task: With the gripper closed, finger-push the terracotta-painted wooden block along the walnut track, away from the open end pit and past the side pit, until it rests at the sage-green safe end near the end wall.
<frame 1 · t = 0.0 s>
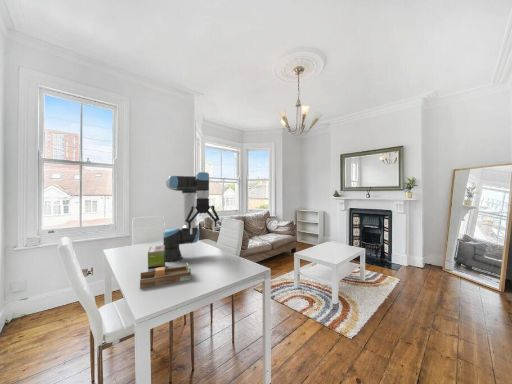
hand: (202, 232, 132), 28 cm above the table, fingers open, 13 cm apart
tea box: (157, 270, 147), on the table
block: (160, 275, 131), point 2 cm above the table, touching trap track
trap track: (165, 279, 131), on the table
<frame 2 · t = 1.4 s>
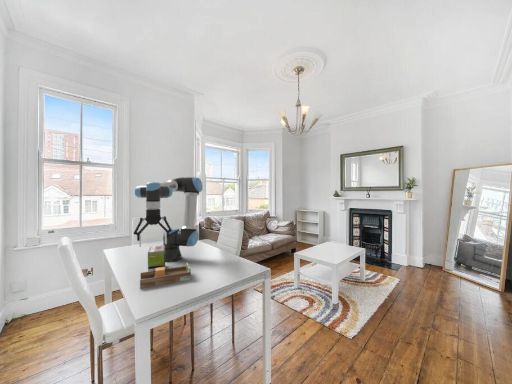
hand: (153, 244, 128), 22 cm above the table, fingers open, 13 cm apart
nothing on the table moved.
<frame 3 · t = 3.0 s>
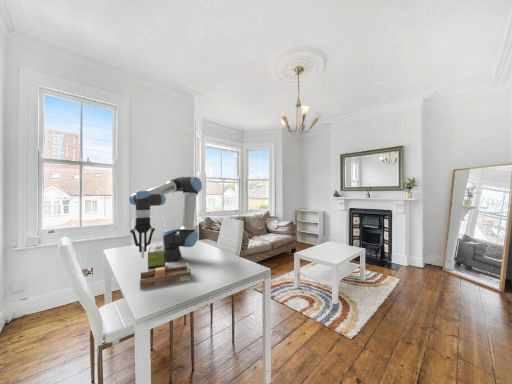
hand: (142, 257, 127), 15 cm above the table, fingers closed
nothing on the table moved.
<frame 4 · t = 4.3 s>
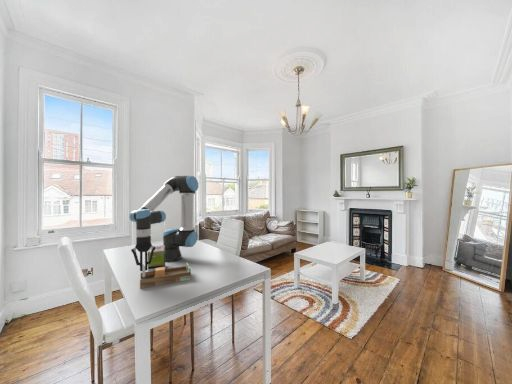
hand: (143, 276, 128), 4 cm above the table, fingers closed
nothing on the table moved.
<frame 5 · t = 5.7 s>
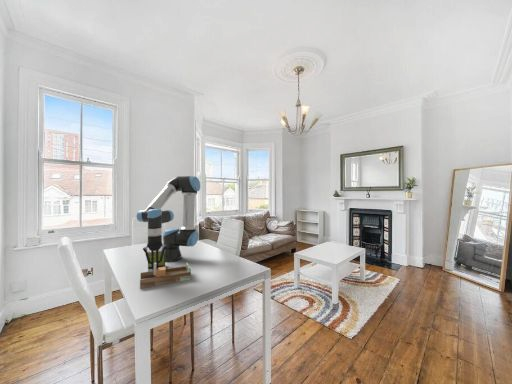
hand: (154, 274, 130), 4 cm above the table, fingers closed
block: (160, 275, 132), point 3 cm above the table, touching gripper
everything else where it was.
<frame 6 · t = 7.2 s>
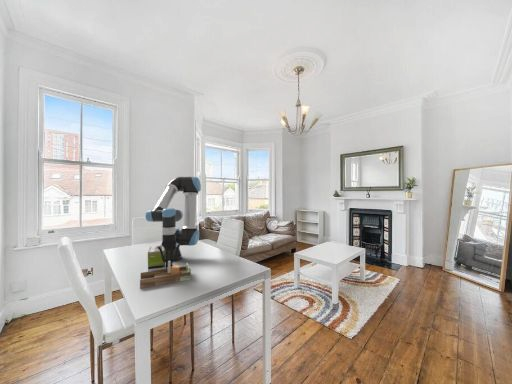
hand: (169, 272, 134), 4 cm above the table, fingers closed
block: (174, 273, 135), point 3 cm above the table, touching gripper
everything else where it was.
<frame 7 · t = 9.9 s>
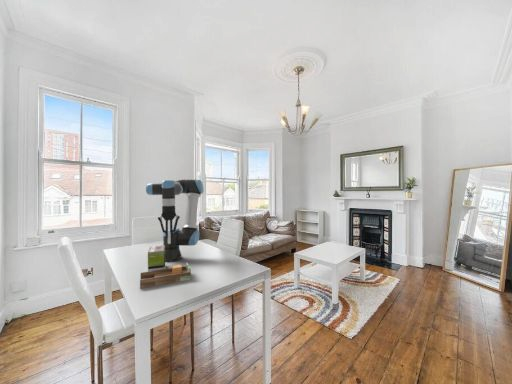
hand: (169, 243, 135), 21 cm above the table, fingers closed
block: (176, 272, 136), point 2 cm above the table, touching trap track
everything else where it was.
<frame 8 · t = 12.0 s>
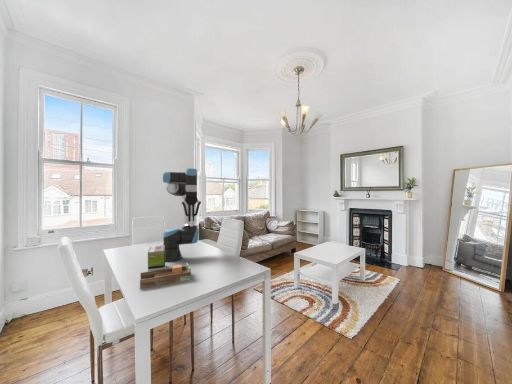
hand: (191, 226, 148), 29 cm above the table, fingers closed
nothing on the table moved.
at the end: block inside the target area on the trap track (2.9 cm from its centre), point 2.5 cm above the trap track's base; block tilted 0° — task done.
